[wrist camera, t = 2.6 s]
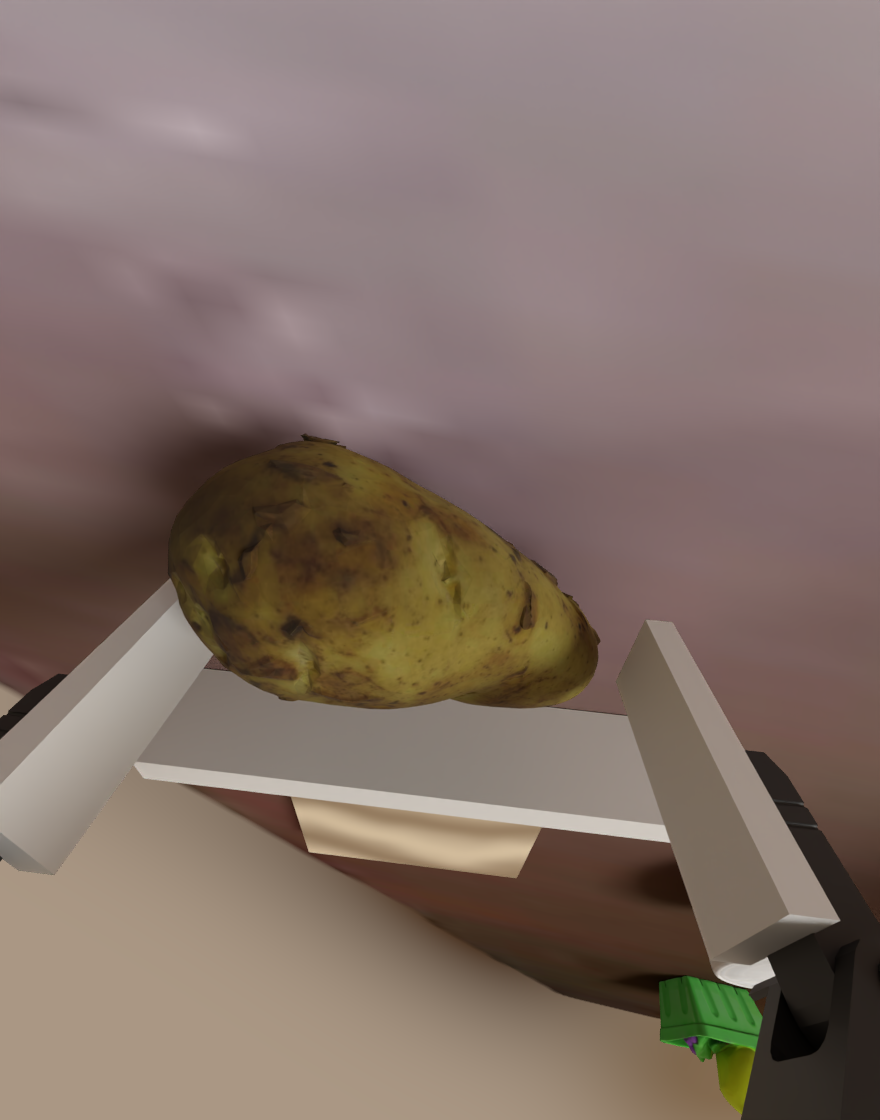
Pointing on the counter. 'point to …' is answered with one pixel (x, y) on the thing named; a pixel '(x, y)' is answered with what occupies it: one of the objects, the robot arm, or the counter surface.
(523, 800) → the divider wall
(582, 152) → the counter surface
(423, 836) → the cutting board
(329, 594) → the potato
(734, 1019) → the fruit basket
